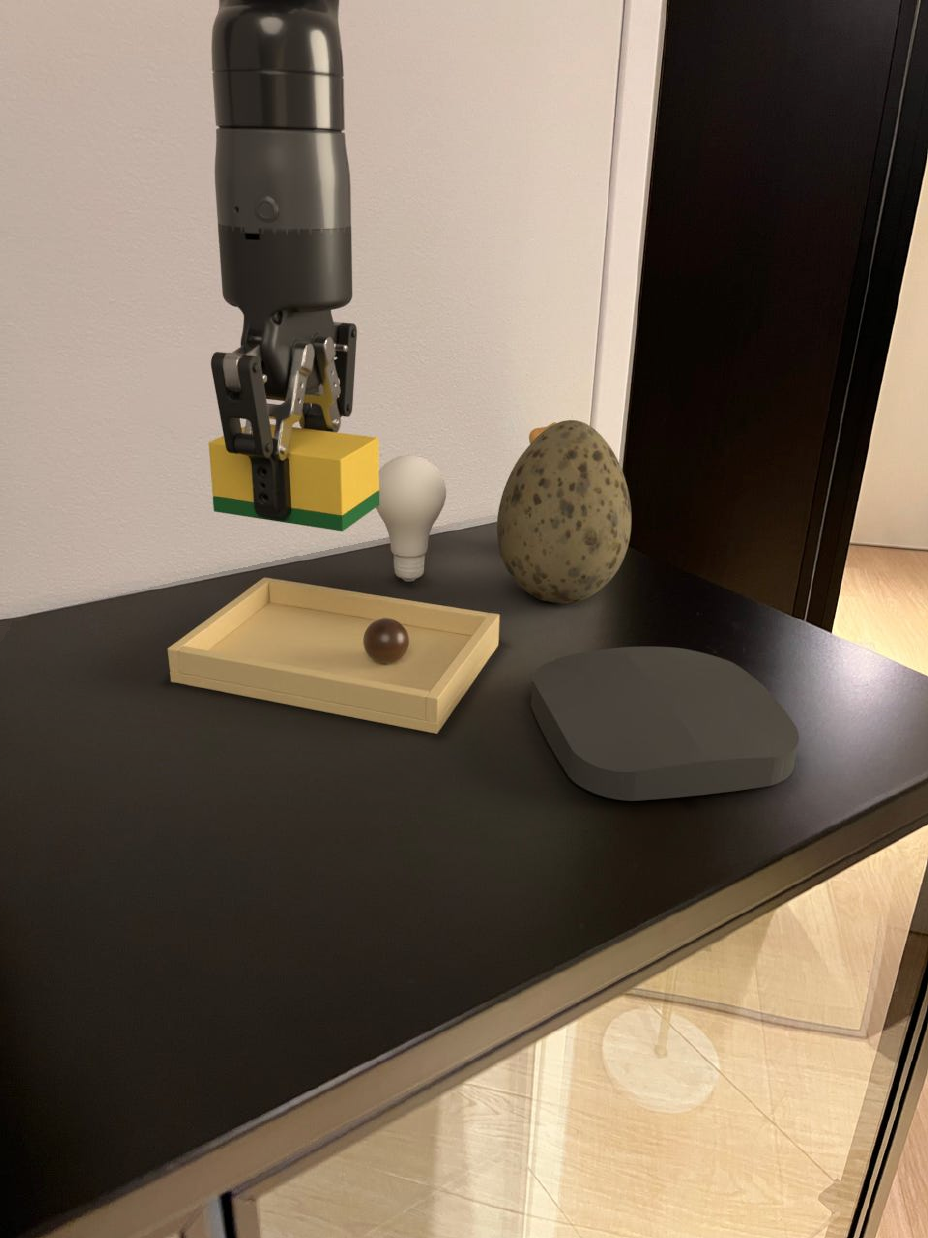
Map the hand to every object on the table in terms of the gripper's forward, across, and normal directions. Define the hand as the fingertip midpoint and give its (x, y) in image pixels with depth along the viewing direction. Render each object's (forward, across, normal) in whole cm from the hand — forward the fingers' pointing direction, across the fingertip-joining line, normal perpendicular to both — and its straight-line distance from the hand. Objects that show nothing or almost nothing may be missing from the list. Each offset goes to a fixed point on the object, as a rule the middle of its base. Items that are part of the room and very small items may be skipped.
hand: (297, 500), depth 65 cm
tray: (+13, -4, +1) cm, 14 cm away
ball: (+11, -4, +4) cm, 12 cm away
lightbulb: (+13, -20, 0) cm, 24 cm away
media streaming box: (+13, -2, +24) cm, 28 cm away
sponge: (0, 0, 0) cm, 0 cm away
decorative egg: (+13, -21, +13) cm, 28 cm away
